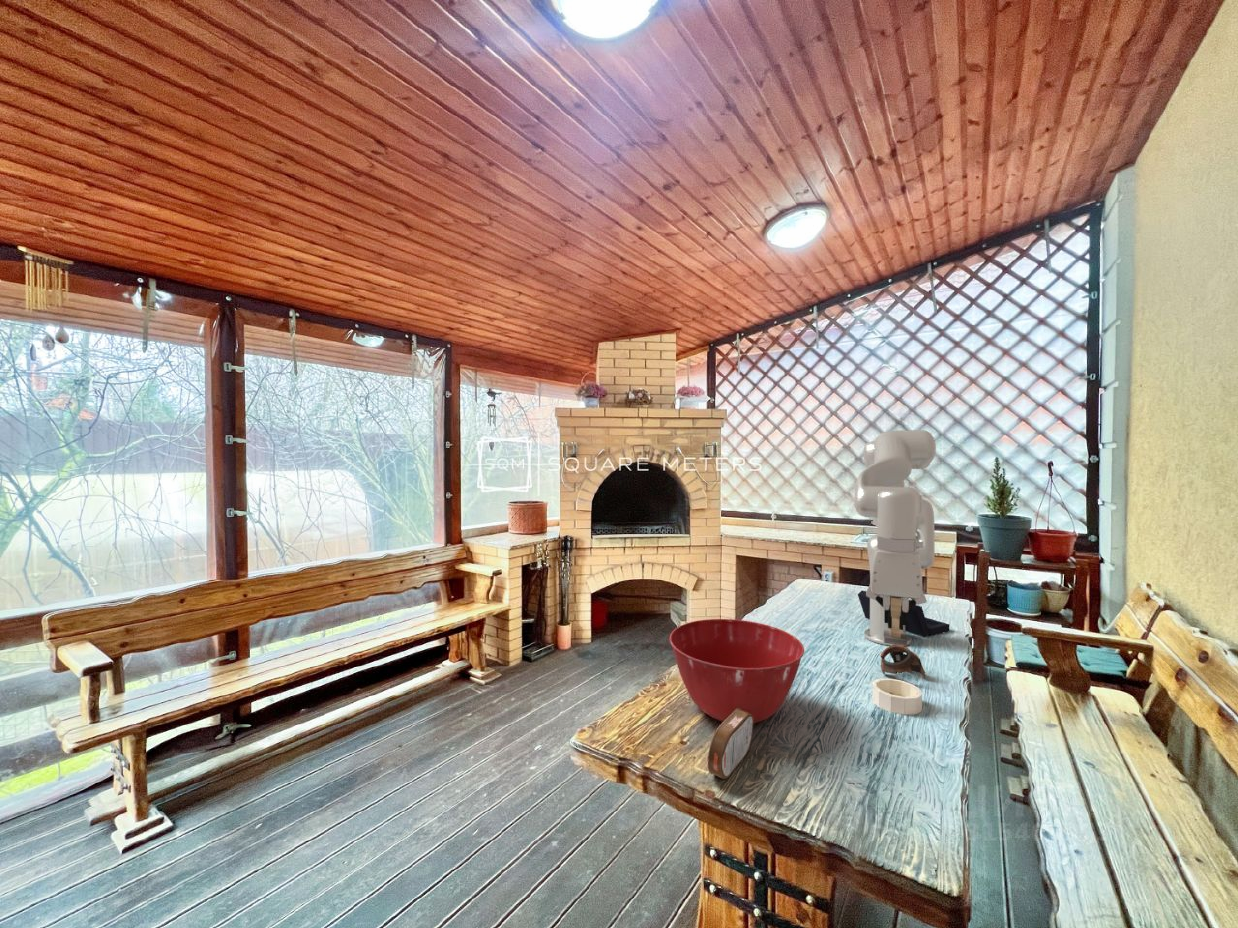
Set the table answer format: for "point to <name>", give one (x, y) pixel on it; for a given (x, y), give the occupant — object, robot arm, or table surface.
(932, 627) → the black laptop
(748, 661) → the mixing bowl
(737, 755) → the tin
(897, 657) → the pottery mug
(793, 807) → the table surface
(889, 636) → the wall mounted peg
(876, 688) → the cream faceted bowl
